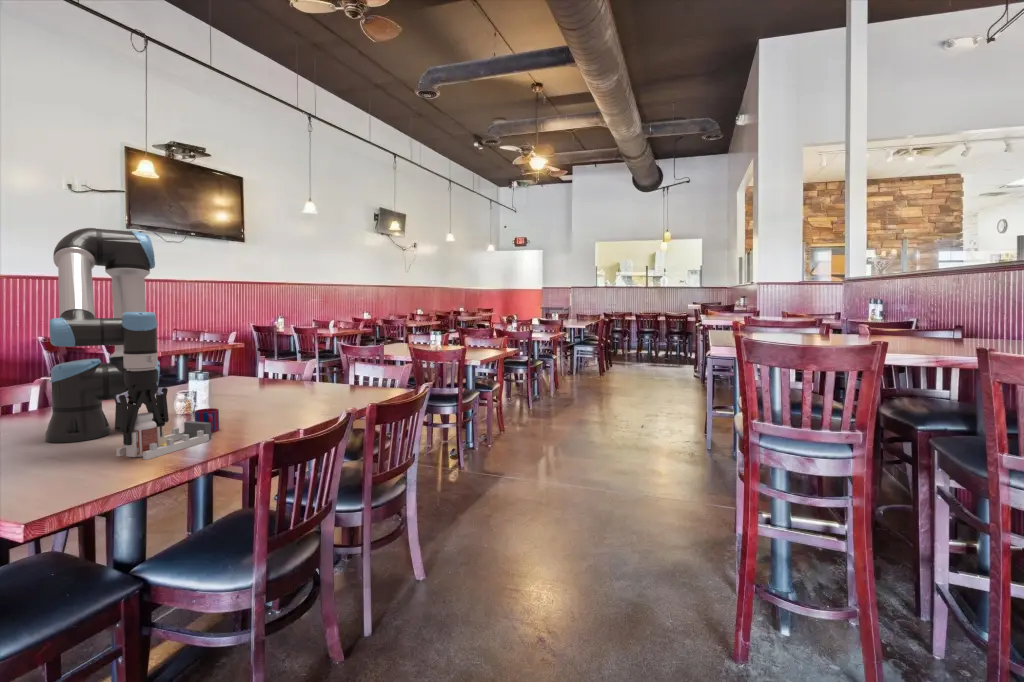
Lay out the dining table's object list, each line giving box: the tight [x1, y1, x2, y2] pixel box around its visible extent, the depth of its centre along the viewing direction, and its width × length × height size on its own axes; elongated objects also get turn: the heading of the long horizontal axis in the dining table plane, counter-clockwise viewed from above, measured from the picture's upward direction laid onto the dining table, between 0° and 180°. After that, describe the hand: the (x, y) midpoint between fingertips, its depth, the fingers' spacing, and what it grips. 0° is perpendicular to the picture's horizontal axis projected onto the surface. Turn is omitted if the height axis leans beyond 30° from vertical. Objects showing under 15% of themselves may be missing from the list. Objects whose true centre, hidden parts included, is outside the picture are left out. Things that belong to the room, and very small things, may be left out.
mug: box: [194, 407, 220, 434], centre depth 166 cm, size 7×10×7 cm
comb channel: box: [115, 420, 212, 461], centre depth 148 cm, size 10×22×5 cm, turn 165°
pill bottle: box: [133, 412, 157, 458], centre depth 140 cm, size 6×6×11 cm
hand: (143, 452), depth 141 cm, fingers closed on pill bottle, 6 cm apart
